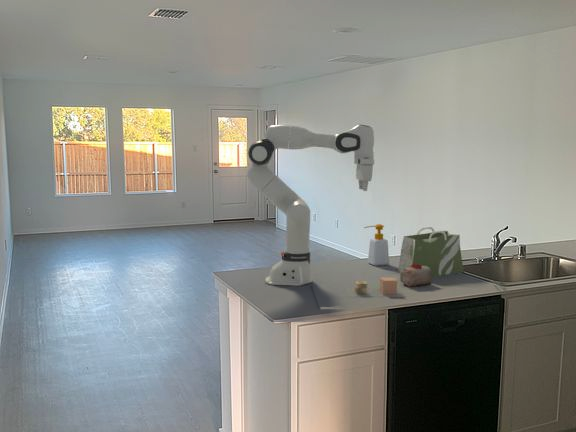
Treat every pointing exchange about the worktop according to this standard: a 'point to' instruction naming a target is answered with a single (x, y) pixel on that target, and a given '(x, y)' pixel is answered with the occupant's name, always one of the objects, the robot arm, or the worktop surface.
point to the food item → (416, 275)
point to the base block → (388, 285)
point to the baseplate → (373, 293)
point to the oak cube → (360, 287)
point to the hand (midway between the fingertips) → (363, 190)
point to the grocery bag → (432, 252)
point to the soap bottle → (378, 248)
